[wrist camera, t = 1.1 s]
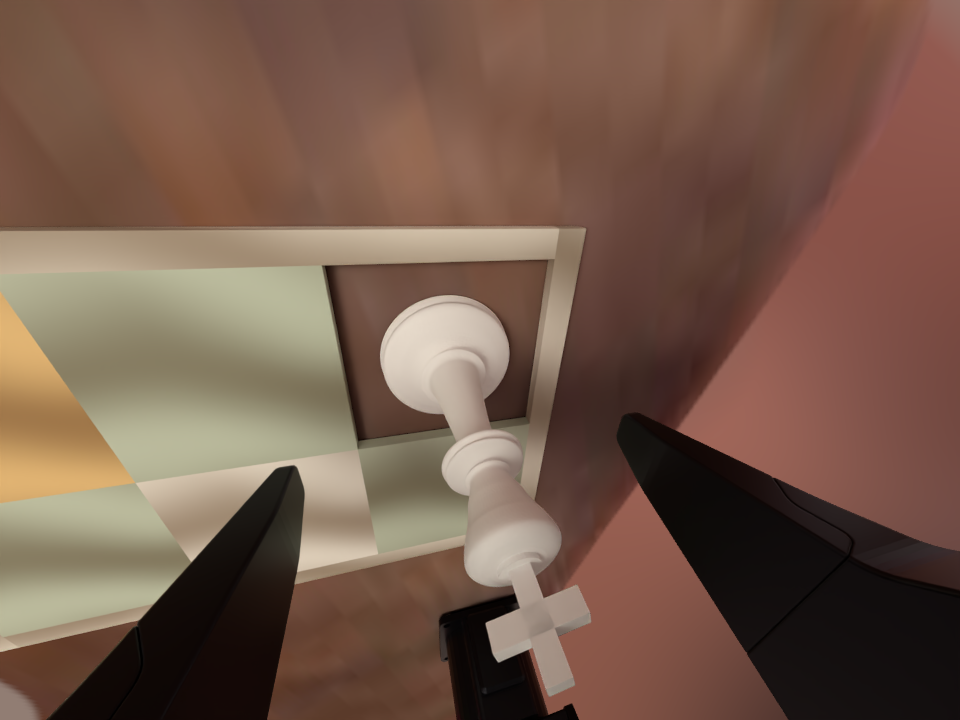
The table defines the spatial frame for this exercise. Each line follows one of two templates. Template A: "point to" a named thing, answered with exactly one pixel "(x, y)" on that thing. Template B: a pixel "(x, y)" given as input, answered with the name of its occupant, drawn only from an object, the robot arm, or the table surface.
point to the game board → (215, 406)
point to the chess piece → (485, 471)
